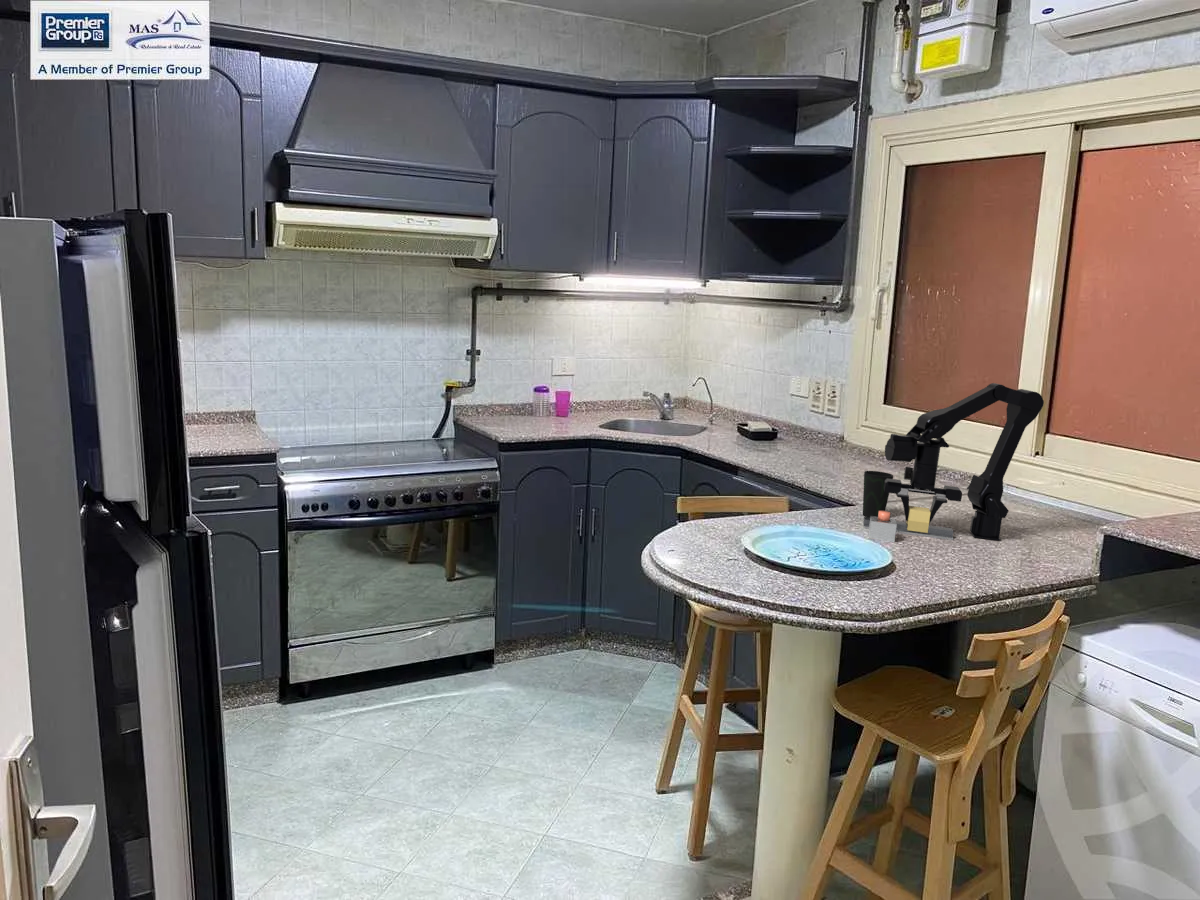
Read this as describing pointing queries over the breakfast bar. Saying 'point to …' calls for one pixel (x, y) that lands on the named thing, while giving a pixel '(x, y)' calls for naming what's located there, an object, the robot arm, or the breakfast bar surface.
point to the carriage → (918, 519)
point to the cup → (874, 493)
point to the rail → (932, 532)
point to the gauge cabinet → (882, 529)
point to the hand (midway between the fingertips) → (917, 522)
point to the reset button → (884, 515)
